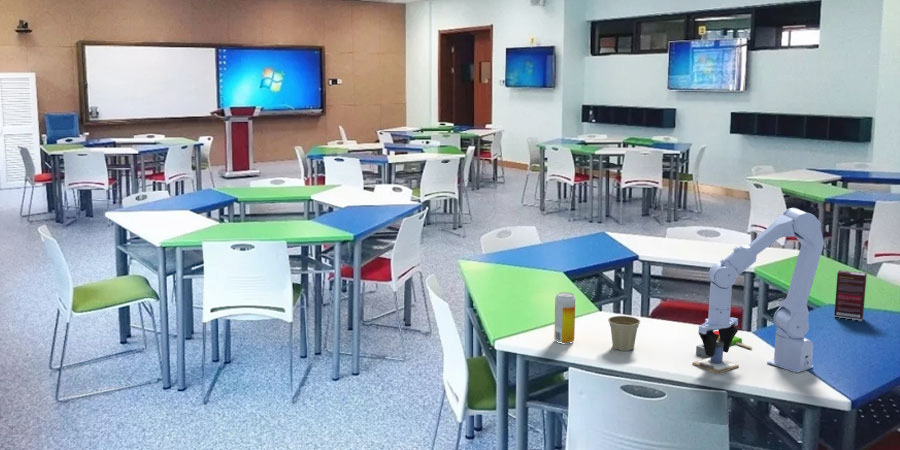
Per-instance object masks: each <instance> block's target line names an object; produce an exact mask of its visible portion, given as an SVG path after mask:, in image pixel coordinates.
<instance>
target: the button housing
mask: <svg viewBox="0 0 900 450" xmlns="http://www.w3.org/2000/svg"><path fill="white" fill-rule="evenodd" d="M695 347H696V348H695V354H696V355H700V356H702V357H705V358H709V357H710V356H707V355H706V353H705V349H704V344H703V343H701V344H698V345H696V346H695Z"/></svg>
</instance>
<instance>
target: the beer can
mask: <svg viewBox="0 0 900 450" xmlns="http://www.w3.org/2000/svg"><path fill="white" fill-rule="evenodd" d="M554 306H555V307H554V336H553V337H554V341H555V342H556V341H558V342H562V343H570V342H572V343H573V342H574V341H575V329H576V326H575V325H576V296H575V294H574V293H571V292H565V291H564V292H558V293H556V296H555V301H554Z"/></svg>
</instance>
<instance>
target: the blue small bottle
mask: <svg viewBox="0 0 900 450" xmlns="http://www.w3.org/2000/svg"><path fill="white" fill-rule="evenodd" d="M723 346H724V341H722V340H717V342H716V345H715V351H714V356H713V357H711V359H710V362H712V363H715V364H721V363H722V359H723V357H724V354H723V353H724V352H723ZM723 360H724V359H723Z"/></svg>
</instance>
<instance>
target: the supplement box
mask: <svg viewBox="0 0 900 450" xmlns="http://www.w3.org/2000/svg"><path fill="white" fill-rule="evenodd" d="M836 274H837V275H836V277H837V278H836V286H835V287H836V288H835V289H836V290H835V301H834V302H835V303H834V314H833V315H834V316H835V317H840V318H846V319H845V320H847V319H852V320H851V321H855V320H858V321H857V322H862V321H863V319H864V312H865V311H864V310H865V298H866V288H867V276H868V275H867V274H868V273H867V272H861V271H851V270H842V269H839V270H838V271H837V273H836ZM834 316H833V317H834ZM840 318H839V319H840Z"/></svg>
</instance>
